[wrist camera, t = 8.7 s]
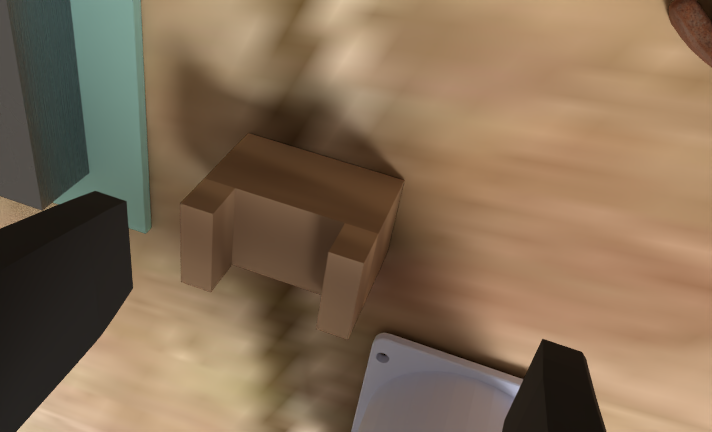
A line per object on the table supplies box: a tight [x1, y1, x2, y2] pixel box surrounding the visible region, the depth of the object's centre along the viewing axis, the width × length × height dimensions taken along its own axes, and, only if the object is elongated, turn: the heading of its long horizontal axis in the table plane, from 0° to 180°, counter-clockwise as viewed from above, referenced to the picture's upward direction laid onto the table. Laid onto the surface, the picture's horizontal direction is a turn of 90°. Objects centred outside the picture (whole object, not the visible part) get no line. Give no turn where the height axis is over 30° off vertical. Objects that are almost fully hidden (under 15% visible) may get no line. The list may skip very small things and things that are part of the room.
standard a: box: [180, 133, 404, 340], centre depth 21 cm, size 3×5×4 cm, turn 81°
